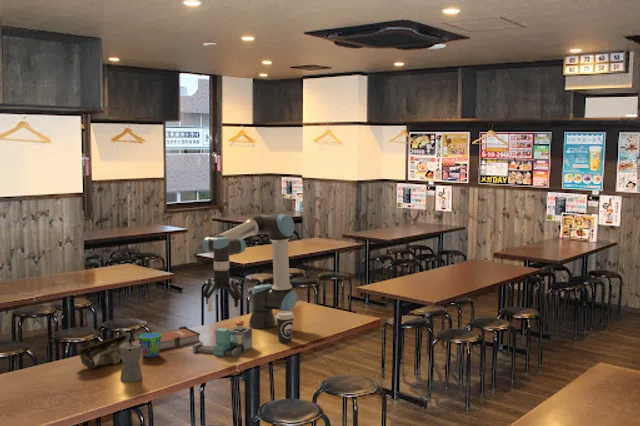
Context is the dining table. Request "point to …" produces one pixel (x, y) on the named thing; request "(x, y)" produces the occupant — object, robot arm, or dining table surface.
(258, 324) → the robot arm
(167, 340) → the book
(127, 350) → the coffeepot
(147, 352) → the snack cup
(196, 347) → the rail
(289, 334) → the coffee cup
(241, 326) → the gauge plunger
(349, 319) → the dining table surface
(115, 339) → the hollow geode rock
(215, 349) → the carriage
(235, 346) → the end cabinet
